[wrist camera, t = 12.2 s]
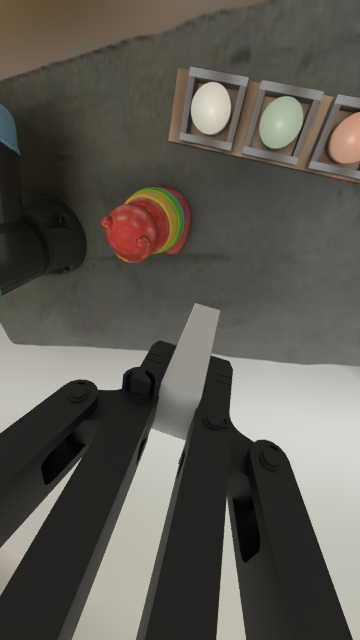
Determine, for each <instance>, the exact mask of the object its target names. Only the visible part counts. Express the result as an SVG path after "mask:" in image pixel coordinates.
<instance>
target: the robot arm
mask: <svg viewBox="0 0 360 640" xmlns="http://www.w3.org/2000/svg"><path fill="white" fill-rule="evenodd" d="M19 155H20V150H19V149H18V144H17V135H16V126H15V122H14V119H13V117H12V115H11V114H10V112H9V111H8V110H7V109H6V108H5V107H4V106H3V105H1V104H0V296H2V295H4V294H6V293H8V292H9V291H11V290H13V289H15V288H17V287H19V286H21V285H23V284H25V283H27V282H29V281H31V280H33V279H35V278H37V277H39V276H43V275H61V274H66V273H68V272H70V271H72V270H74V269H76V268H77V267H78V266H79V265H80V264H81V263H82V261H83V259H84V257H85V253H86V240H85V235H84V232H83V229H82V227H81V224H80V222H79V221H78V219H77V218H76V216H75V215H74V213H73V212H72V211H71V210H70V209H69V208H68V207H67V206H66V205H64V204H63V203H62V202H60V201H59V200H57V199H55V198H52V197H49V196H31V197H27V198H25V199H23V200H22V195H21V179H20V164H19ZM219 314H220V310H217V309H214V308H210V307H207V306H203V305H200V304H196V303H195V305H194V307H193V309H192V312H191V314H190V316H189V319H188V321H187V324H186V326H185V328H184V331H183V333H182V335H181V338H180V340H179V342H178V345H177V346H176V345H173V344H170V343H167V342H163V341H158V342H157V343H155V344H153V345H152V347H151V348H150V350H149V352H148V354H147V356H146V357H145V359H144V361H143V362H142V364H141V366H140V367H135V368H132V369H129V370H127V371H126V372H125V374H123V385H122V389H119V390H98V389H97V387H96V385H95V384H94V383H93V382H90V381H88V380H75V381H71V382H69V383H67V384H66V385H64V386H63V387H61V388H60V389H59V390H57V391H56V392H55V393H53V394H52V395H51V396H49V397H48V398H47V399H45V400H44V401H43V402H41V403H40V404H39V405H37V406H36V407H35V408H34V409H32V410H31V411H30V412H28V413H27V414H25V415H24V416H23V417H22V418H20V419H19V420H18V421H16V422H15V423H13V424H12V425H11V426H10V427H8V428H7V429H6V430H4V431H3V432H2V433H0V548H1V547H2V545H3V544H4V543H5V542H6V541H7V540H8V539H9V538H10V537H11V535H12V534H13V533H14V532H15V531H16V530H17V529H18V528H19V526H20V525H21V524H22V523H23V522H24V521H25V520H26V519H27V518H28V517H29V515H30V514H31V513H32V512H33V511H34V510H35V509H36V508H37V507H38V505H39V504H40V503H41V502H42V501H43V500H44V499H45V498H46V497H47V495H48V494H49V493H50V492H51V491H52V490H53V489H54V488H55V487H56V485H57V484H58V483H59V482H60V481H61V480H62V479H63V478H64V477H65V476H66V474H67V473H68V472H69V471H70V470H71V469H72V468H73V467H74V466H75V464H76V463H77V462H78V461H79V460H80V459H81V458H82V459H81V461H80V462H79V464H78V466H77V467H76V469H75V471H74V472H73V474H72V476H71V477H70V479H69V481H68V482H67V484H66V486H65V487H64V489H63V491H62V493H61V495H60V496H59V498H58V500H57V501H56V503H55V504H54V506H53V508H52V509H51V511H50V513H49V515H48V516H47V518H46V520H45V521H44V523H43V525H42V527H41V528H40V530H39V532H38V533H37V535H36V537H35V538H34V540H33V542H32V543H31V545H30V547H29V548H28V550H27V552H26V554H25V555H24V557H23V559H22V560H21V562H20V564H19V565H18V567H17V569H16V570H15V572H14V574H13V576H12V577H11V579H10V581H9V582H8V584H7V586H6V587H5V589H4V591H3V593H2V594H1V596H0V640H72V637H73V635H74V632H75V629H76V627H77V624H78V622H79V619H80V616H81V613H82V611H83V608H84V606H85V603H86V600H87V598H88V595H89V592H90V590H91V587H92V584H93V582H94V579H95V577H96V574H97V571H98V569H99V566H100V564H101V561H102V558H103V556H104V553H105V551H106V548H107V545H108V542H109V540H110V537H111V535H112V532H113V530H114V527H115V524H116V522H117V519H118V517H119V514H120V511H121V509H122V506H123V503H124V501H125V498H126V496H127V493H128V490H129V488H130V485H131V482H132V480H133V477H134V475H135V472H136V469H137V467H138V464H139V461H140V459H141V456H142V453H143V451H144V448H145V446H146V443H147V439H148V435H149V432H150V429H151V427H152V429H155V430H158V431H161V432H163V433H166V434H169V435H172V436H175V437H178V438H181V439H183V440H186V442H185V446H184V449H183V452H182V454H181V457H180V460H179V463H178V464H179V467H178V471H177V475H176V479H175V483H174V487H173V491H172V495H171V499H170V504H169V508H168V512H167V516H166V520H165V524H164V528H163V532H162V536H161V540H160V544H159V548H158V552H157V556H156V560H155V565H154V569H153V573H152V577H151V581H150V585H149V589H148V593H147V597H146V601H145V605H144V609H143V613H142V617H141V621H140V626H139V629H138V634H137V638H136V640H216V634H217V620H218V607H219V592H220V579H221V566H222V552H223V538H224V524H225V511H226V498H227V500H228V507H229V514H230V522H231V530H232V537H233V545H234V552H235V559H236V567H237V574H238V582H239V589H240V597H241V604H242V611H243V619H244V626H245V634H246V640H353V639H352V636H351V633H350V630H349V628H348V625H347V622H346V619H345V616H344V614H343V611H342V608H341V605H340V602H339V600H338V597H337V594H336V591H335V589H334V585H333V583H332V580H331V577H330V575H329V571H328V569H327V566H326V563H325V560H324V558H323V555H322V552H321V549H320V546H319V543H318V541H317V538H316V535H315V532H314V530H313V527H312V524H311V521H310V518H309V516H308V513H307V510H306V507H305V504H304V501H303V499H302V496H301V493H300V490H299V487H298V485H297V482H296V479H295V476H294V474H293V471H292V468H291V465H290V462H289V460H288V458H287V456H286V454H285V453H284V452H283V451H282V450H281V448H280V447H279V446H277V445H276V444H274V443H273V442H270V441H267V440H257V441H256V442H253V441H251V440H250V439H249V438H247V437H245V436H244V435H243V434H241V433H240V432H239V431H238V430H237V429H236V428H235V427H234V425H233V424H232V422H231V419H230V415H229V409H230V398H231V397H230V396H231V385H232V374H233V369H232V366H231V364H230V362H229V361H227V360H223V359H220V358H217V357H214V356H211V351H212V346H213V341H214V337H215V332H216V328H217V323H218V318H219Z"/></svg>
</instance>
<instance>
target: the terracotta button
mask: <svg viewBox="0 0 360 640" xmlns="http://www.w3.org/2000/svg"><path fill="white" fill-rule="evenodd" d="M326 154H327V156H328V158H329V159H330V160H331V161H332V162H334V163H336V164H348V163H354V162H357V161H360V112H358V113H355V114H353V115H351V116H349V117H348V118H346V119H344V120H343V121H341V122H340V123H338V124H337V125H336V126H335V127H334V128H333V130H332V131H331V132H330V134H329V136H328V138H327V142H326Z"/></svg>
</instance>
